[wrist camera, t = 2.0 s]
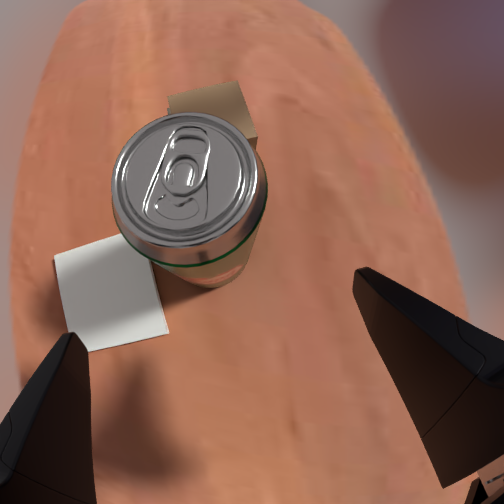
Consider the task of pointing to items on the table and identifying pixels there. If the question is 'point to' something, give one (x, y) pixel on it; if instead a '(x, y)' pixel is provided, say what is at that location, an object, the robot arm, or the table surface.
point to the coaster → (109, 294)
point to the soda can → (190, 196)
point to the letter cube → (217, 106)
